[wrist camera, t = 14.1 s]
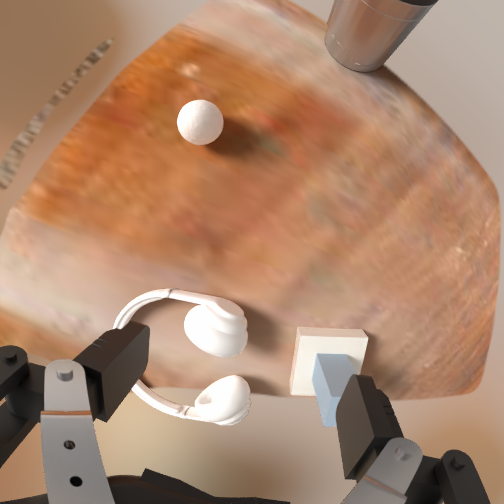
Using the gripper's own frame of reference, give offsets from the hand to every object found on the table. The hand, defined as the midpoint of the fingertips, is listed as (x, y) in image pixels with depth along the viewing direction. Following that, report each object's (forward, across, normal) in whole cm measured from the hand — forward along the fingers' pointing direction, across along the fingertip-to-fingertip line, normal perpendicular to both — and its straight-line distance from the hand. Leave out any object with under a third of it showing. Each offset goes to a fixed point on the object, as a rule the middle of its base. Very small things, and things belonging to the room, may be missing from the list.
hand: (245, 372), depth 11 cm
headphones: (+26, +9, +18) cm, 33 cm away
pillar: (+24, -11, +14) cm, 30 cm away
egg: (+28, +11, -12) cm, 33 cm away
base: (+27, -11, +14) cm, 32 cm away
